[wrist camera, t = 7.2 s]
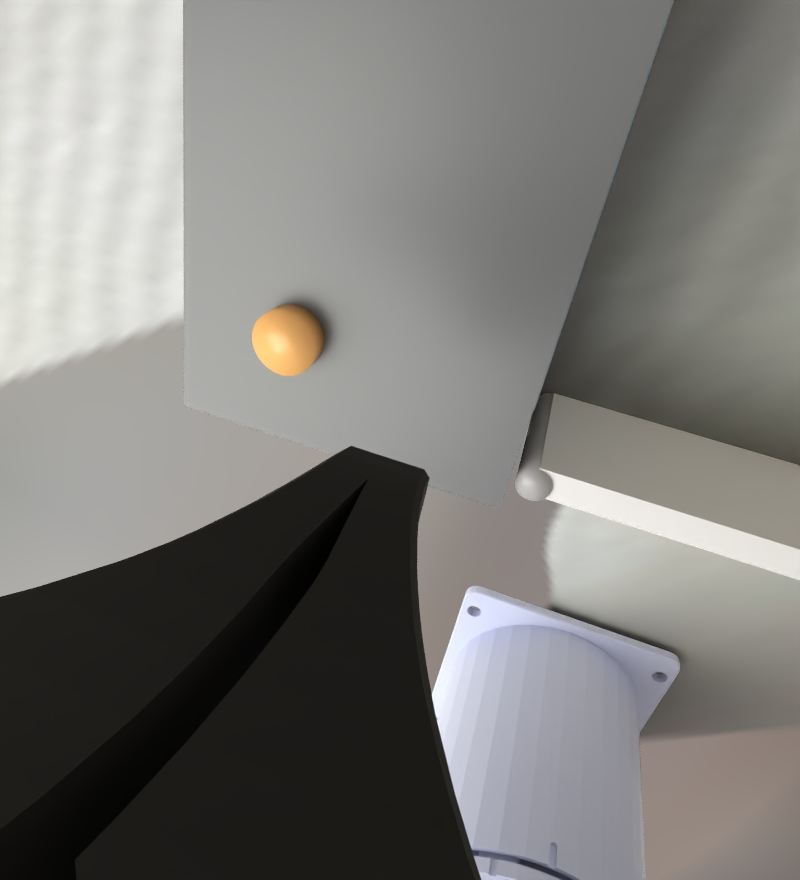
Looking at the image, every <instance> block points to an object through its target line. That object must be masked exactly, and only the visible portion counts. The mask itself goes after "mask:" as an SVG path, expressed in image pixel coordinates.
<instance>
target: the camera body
mask: <svg viewBox="0 0 800 880" xmlns="http://www.w3.org/2000/svg"><path fill="white" fill-rule="evenodd" d="M674 1H675V0H183V135H184V406H185V407H188V408H191V409H195V410H197V411H200V412H203V413H207V414H209V415H213V416H216V417H219V418H222V419H225V420H228V421H231V422H234V423H237V424H240V425H243V426H246V427H249V428H253V429H256V430H259V431H262V432H265V433H268V434H271V435H274V436H277V437H280V438H283V439H286V440H289V441H292V442H295V443H298V444H301V445H305V446H308V447H311V448H313V449H316V450H320V451H323V452H326V453H329V454H332V455H335V454H337V453H339V452H340V451H342V450H344V449H346V448H348V447H350V446H353V447H356V448H360V449H363V450H366V451H369V452H372V453H375V454H378V455H381V456H384V457H388V458H391V459H394V460H397V461H400V462H403V463H406V464H409V465H412V466H416V467H419V468H422V469H425V471H426V473H427V474H428V476H429V478H430V479H429V482H428V486H430V487H433V488H436V489H439V490H442V491H445V492H448V493H451V494H454V495H457V496H460V497H463V498H466V499H469V500H473V501H476V502H479V503H482V504H485V505H488V506H491V507H494V508H497V509H500V507H501V504H502V501H503V498H504V495H505V492H506V489H507V486H508V483H509V480H510V478H511V475H512V471H513V469H514V466H515V463H516V460H517V457H518V454H519V451H520V448H521V445H522V442H523V439H524V436H525V434H526V431H527V428H528V425H529V422H530V419H531V416H532V413H533V410H535V407H536V405H537V402H538V399H539V396H540V393H541V390H542V387H543V384H544V381H545V378H546V375H547V372H548V369H549V367H550V364H551V361H552V358H553V355H554V352H555V349H556V346H557V343H558V340H559V337H560V334H561V331H562V329H563V326H564V323H565V320H566V317H567V314H568V311H569V308H570V305H571V302H572V299H573V296H574V294H575V291H576V288H577V285H578V282H579V279H580V276H581V273H582V270H583V267H584V264H585V261H586V258H587V256H588V253H589V250H590V247H591V244H592V241H593V238H594V235H595V232H596V229H597V226H598V223H599V220H600V218H601V215H602V212H603V209H604V206H605V203H606V200H607V197H608V194H609V191H610V188H611V185H612V182H613V180H614V177H615V174H616V171H617V168H618V165H619V162H620V159H621V156H622V153H623V150H624V147H625V144H626V142H627V139H628V136H629V133H630V130H631V127H632V124H633V121H634V118H635V115H636V112H637V109H638V106H639V104H640V101H641V98H642V95H643V92H644V89H645V86H646V83H647V80H648V77H649V74H650V71H651V69H652V66H653V63H654V60H655V57H656V54H657V51H658V48H659V45H660V42H661V39H662V36H663V33H664V31H665V28H666V25H667V22H668V19H669V16H670V13H671V10H672V7H673V4H674Z"/></svg>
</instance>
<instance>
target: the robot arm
mask: <svg viewBox="0 0 800 880" xmlns="http://www.w3.org/2000/svg"><path fill="white" fill-rule="evenodd" d="M429 479H430V478H429V476H428V474H427V473H426V471H425V469H422V468H419V467H416V466H412V465H409V464H406V463H403V462H400V461H397V460H394V459H391V458H388V457H384V456H381V455H378V454H375V453H372V452H369V451H366V450H363V449H360V448H356V447H353V446H350V447H348V448H346V449H344V450H342V451H340V452H339V453H337V454H335V455H334V456H332V457H330V458H329V459H327V460H325V461H324V462H322V463H320V464H319V465H317V466H316V467H314V468H312V469H311V470H309V471H307V472H306V473H304V474H302V475H300V476H299V477H297V478H295V479H294V480H292V481H290V482H289V483H287V484H285V485H283V486H282V487H280V488H278V489H276V490H274V491H273V492H271V493H269V494H267V495H265V496H264V497H262V498H260V499H258V500H257V501H255V502H253V503H251V504H249V505H247V506H245V507H243V508H241V509H239V510H237V511H236V512H233V513H231V514H229V515H227V516H225V517H223V518H221V519H219V520H217V521H215V522H213V523H211V524H209V525H207V526H204V527H203V528H200V529H198V530H196V531H194V532H192V533H189V534H187V535H185V536H183V537H180V538H178V539H176V540H174V541H171V542H169V543H166V544H164V545H161V546H158V547H156V548H153V549H151V550H148V551H145V552H143V553H140V554H138V555H135V556H133V557H130V558H127V559H124V560H122V561H118V562H116V563H113V564H109V565H106V566H103V567H100V568H97V569H93V570H90V571H87V572H84V573H81V574H78V575H75V576H72V577H68V578H65V579H62V580H59V581H56V582H52V583H49V584H46V585H43V586H40V587H36V588H33V589H29V590H25V591H21V592H17V593H13V594H10V595H6V596H2V597H0V880H646V879H645V856H644V834H643V811H642V788H641V766H640V742H639V733H640V732H641V730H642V729H643V727H644V725H645V724H646V722H647V721H648V719H649V718H650V716H651V715H652V713H653V712H654V710H655V709H656V707H657V706H658V704H659V702H660V701H661V699H662V698H663V696H664V695H665V693H666V692H667V690H668V689H669V687H670V686H671V684H672V683H673V681H674V680H675V678H676V676H677V675H678V673H679V671H680V662H679V659H678V657H677V656H676V655H675V654H673V653H671V652H669V651H666V650H663V649H660V648H657V647H654V646H651V645H648V644H646V643H643V642H640V641H637V640H634V639H631V638H628V637H625V636H623V635H620V634H617V633H614V632H611V631H608V630H605V629H602V628H600V627H597V626H594V625H591V624H588V623H585V622H582V621H579V620H577V619H574V618H571V617H568V616H565V615H562V614H559V613H557V612H554V611H551V610H548V609H545V608H542V607H539V606H536V605H533V604H531V603H527V602H524V601H522V600H519V599H516V598H513V597H510V596H508V595H505V594H502V593H499V592H496V591H493V590H490V589H487V588H485V587H481V586H472V587H470V588H469V589H468V590H467V591H466V594H465V597H464V600H463V603H462V606H461V609H460V612H459V615H458V618H457V621H456V624H455V627H454V630H453V633H452V636H451V639H450V642H449V645H448V648H447V651H446V654H445V657H444V660H443V663H442V666H441V669H440V672H439V675H438V678H437V681H436V684H435V687H434V690H433V693H432V694H431V689H430V683H429V679H428V672H427V666H426V659H425V653H424V646H423V639H422V631H421V622H420V612H419V598H418V581H417V534H418V522H419V518H420V514H421V510H422V506H423V502H424V498H425V494H426V490H427V486H428V482H429ZM471 606H476V607H478V608H479V609H478V610H477V609H473V608H472V607H471ZM655 672H662V673H663V674H657V673H655Z"/></svg>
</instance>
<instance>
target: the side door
mask: <svg viewBox="0 0 800 880" xmlns="http://www.w3.org/2000/svg"><path fill="white" fill-rule="evenodd" d="M515 486H516V489H517V491H518V493H519V494H520V495H521V496H522V497H524V498H525V499H528V500H532V501H539V500H543V499H548V500H551V501H554V502H557V503H560V504H563V505H566V506H569V507H573V508H576V509H579V510H582V511H585V512H588V513H591V514H594V515H598V516H601V517H604V518H607V519H610V520H613V521H616V522H619V523H622V524H626V525H629V526H632V527H635V528H638V529H641V530H644V531H647V532H651V533H654V534H657V535H660V536H663V537H666V538H669V539H672V540H675V541H679V542H682V543H685V544H688V545H691V546H694V547H697V548H700V549H704V550H707V551H710V552H713V553H716V554H719V555H722V556H725V557H728V558H732V559H735V560H738V561H741V562H744V563H747V564H750V565H753V566H757V567H760V568H763V569H766V570H769V571H772V572H775V573H778V574H781V575H785V576H788V577H791V578H794V579H797V580H800V465H797V464H793V463H790V462H787V461H783V460H780V459H776V458H773V457H770V456H766V455H763V454H759V453H756V452H753V451H749V450H746V449H742V448H739V447H736V446H732V445H729V444H725V443H722V442H719V441H715V440H712V439H708V438H705V437H702V436H698V435H695V434H691V433H688V432H685V431H681V430H678V429H674V428H671V427H668V426H664V425H661V424H657V423H654V422H651V421H647V420H644V419H640V418H637V417H634V416H630V415H627V414H623V413H620V412H616V411H613V410H610V409H606V408H603V407H599V406H596V405H593V404H589V403H586V402H582V401H579V400H576V399H572V398H569V397H565V396H562V395H559V394H555V393H554V394H552V393H546V394H542V395H540V396H539V399H538V402H537V405H536V407H535V410H533V413H532V416H531V420H530V424H529V428H528V432H527V437H526V441H525V445H524V449H523V453H522V458H521V461H520V465H519V470H518V473H517V478H516V482H515Z"/></svg>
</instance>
